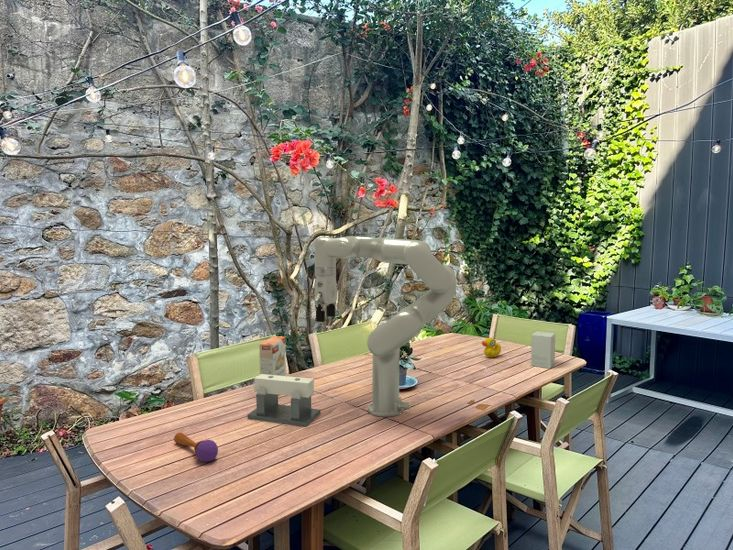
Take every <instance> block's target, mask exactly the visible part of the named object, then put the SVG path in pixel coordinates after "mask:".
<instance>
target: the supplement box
mask: <svg viewBox="0 0 733 550" xmlns="http://www.w3.org/2000/svg"><path fill="white" fill-rule="evenodd" d="M530 348H531V350H530V351H531V352H530V353H531V356H530V366H532V367H537V368H544V369H551V368H552V367H553V366H554V365H555V359H556V358H555V355H556V333H555V332H546V331H540V330H539V331H535V332H533V333H532V334H531V347H530Z"/></svg>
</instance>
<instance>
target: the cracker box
mask: <svg viewBox="0 0 733 550" xmlns="http://www.w3.org/2000/svg"><path fill="white" fill-rule="evenodd" d="M260 374H267V375H278V376H286V336H280V335H279V336H275V335H272V336H271V337H269V338H267V339H266V340H264V341H262V342H260V343H259V375H260Z"/></svg>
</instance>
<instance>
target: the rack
mask: <svg viewBox="0 0 733 550" xmlns="http://www.w3.org/2000/svg"><path fill="white" fill-rule="evenodd" d="M255 397H256V399H255V400H256V401H255V402H256V403H255V404H256V405H255V406H256V407H255V408H254V409H253V410H252V411H250V412H249V413H247V415H246V417H247V420H253V419H254V420H255V421H260V422H262V421H263V422H269V423H277V424H284V425H290V426H297V427H303V428H305V427H307V426H309V425H310V424H311V423H312V422H313V421H314V420H315V419H316V418H318V417H319V416H320V415H321V409H318V408H312V395H311V396H310V397H309V398H307V397H301V393H299V392H291V396H290V405H287V404H279V395H277V394H267V393H266V389H265V388H257V392H256V394H255Z"/></svg>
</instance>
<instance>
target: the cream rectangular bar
mask: <svg viewBox="0 0 733 550" xmlns="http://www.w3.org/2000/svg"><path fill="white" fill-rule="evenodd" d="M253 381H254V383H253V385H254V393H257V388H265V389H266V393H267V394H277V395H278V396H279V395H280V396H288V397H291V392H299V393H301V397H307V398H309V397H310V396H311V397H312V395H313V394H314V393H315V386H314V385H315V384H314V383H315V379H314V378H309V377H298V376H288V375H287V376H278V375H267V374H260V373H259V375H257V376H255V377H254V378H253Z"/></svg>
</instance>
